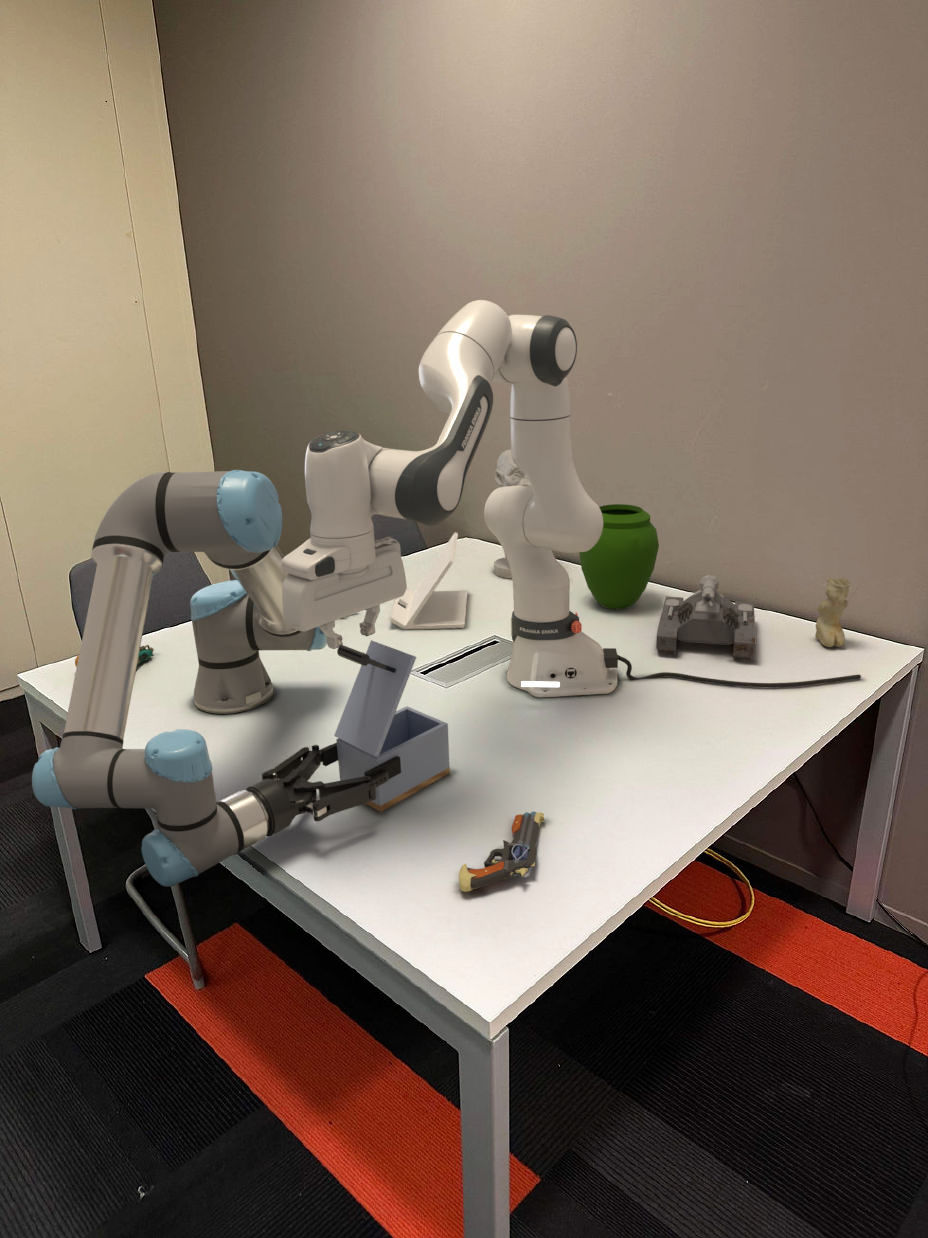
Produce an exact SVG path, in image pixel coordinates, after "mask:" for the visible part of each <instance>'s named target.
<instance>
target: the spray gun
mask: <svg viewBox="0 0 928 1238" xmlns="http://www.w3.org/2000/svg"><path fill="white" fill-rule="evenodd" d="M154 652H155V649H154V647H152V646H151V647H150V645H149V644H146V645H141V646H140V651H139V657H138V662H137V666H138V665H140V664H141V663H143V662H144V661H147V660H148V659H150V658H151V657H153V654H154ZM78 659H79V654H78V655H76V657H75V658H74V665H75V668H77V664H78Z"/></svg>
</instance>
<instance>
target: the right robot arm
mask: <svg viewBox="0 0 928 1238" xmlns="http://www.w3.org/2000/svg"><path fill="white" fill-rule="evenodd" d="M577 342H578V340H577V336H576V333H575V331H574V329H573V327H572V326H571V324H570V323H569V321H568V320H567V319H565V318H563V317H559V316H556V315H550V314H546V315H543V316H542V315H541V316H540V315H535V314H534V315H533V314H510V315H508V314H507V313H506V311H505V310H504V309H503V308H502V307H501V306H499V305H498V304H496V303H494V302H493V301H490V300H485V299H476V300H473V301H470V302H469V303H468V302H467V304H465V305H464V306H463V307H461V308H460V309H459V310H458V311H457V312H456V313H454V315H453V316H452V317H451V318H450V319H449V320H448V321H447V322H446V323H445V324H444V325H443V326H442V328H441V329H440V330H439V332H437V334H436V335H435V337H434V338H433V340H431V342H430V344H429V345H428V347H427V348H426V349H425V351H424V353H423V355H422V357H421V359H420V362H419V364H418V365H419V366H418V380H419V385H420V386H421V389H422V391H423V393H424V394H425V396H426V397H427V399H428V400H429V402H431V404H432V405H433V406H434V407H436V408H437V409H438V410H439V411H441V412H443V413H444V414H447V415H449V416H448V418H447V420H446V422H445V424H444V426H443V429H442V431H441V433H440V435H439V437H438V440H437V442H436V444H434V445H433V446H431V447H429V448H427V449H423V450H407V449H397V448H391V447H390V448H389V447H383V446H380V445H376V444H374V443H371V442H369V441H367V440H365V438H363V437H362V435H361V434H360V433H359V432H358V431H355V430H350V429H340V430H334V431H328V432H325V433H322V434H319V435H317V436H316V437H314V438H313V439H312V440H310V441H309V443H308V445H307V447H306V452H305V458H304V482H305V483H304V485H305V495H306V496H305V497H306V502H307V505H308V508H309V512H310V515H311V520H310V526H309V533H310V537H309V538H308V539H307V540H306V541H303V543H302V544H301V545H299V546H298V547H296V548H295V549H294V550H292V551H291V552H289V553H288V554H286V555H284V558H283V559H282V569H283V571H285V572H287V573H289V574H288V575H287V576H286V577H285V579H284V581H283V585H282V604H283V614H284V620H285V622H286V623H287V624H288V625H289V626H290V627H291V628H294V629H296V630H299V631H302V632H304V631H307V630H310V629H313V628H316V627H318V626H319V628H320V629H321V630H322V632H323V633H324V634H325V635H326V636H327V645H326V646H327V647H328V648H329V649H332V650H336V649H338V648H339V647H341V646H342V645H344V643H343V635H342V634H338V633H336V632H335V631H334V629H333V628H336V621H338V620H340V619H343V618H346V617H348V616H351V615H354V614H357V613H360V612H363V611H365V615H364V618H363V621H362V622H359V628H360V629H359V632H360V634H361V635H362V636H364V637H369V636H373V635H374V634H376V622H377V619H378V617H379V614H380V612H381V606H380V605H382V604H385V603H387V602H390V601H393V600H395V599H396V598H399V597H402V596H403V595H404V593H405V591H406V588H408V586H407V577H406V572H405V565H404V561H403V558H402V553H401V545H400V542H399V541H398V540H397V539H396V538H393V537H391V536H386V537H383V538H382V539H376V540H375V528H374V527H375V526H374V523H373V520H372V517H373V516H374V515H379V516H384V517H389V518H396V519H402V520H407V521H409V522H412V523H413V522H414V523H417V524H421V525H424V526H428V527H429V526H430V527H432V526H437V525H440V524H442V523H443V522H445V521H446V520H447V519H448V518H449V517H450V516H452V514H453V513H454V512H455V511H456V510H457V508H458V506H459V504H460V502H461V498H462V495H463V490H464V487H465V486H464V485H465V481H466V476H467V474H468V472H469V469H470V466H471V464H472V462H473V459H474V457H475V454H476V452H477V450H478V448H479V445H480V442H481V440H482V438H483V435H484V433H485V430H486V429H487V425H488V422H489V420H490V418H491V414H492V410H493V406H494V392H493V388H492V386H491V383H492V382H493V383H499V384H511V387H510V398H509V423H510V424H509V425H510V427H509V431H510V450H511V456H512V459H513V461H514V463H515V464H516V465H517V467H518V468H520V469H521V470H522V471H523V472H524V474H525V475H526V477H527V478H528V480H529V482H530V485H531V487H527V486H521V485H518V486H506V487H502V486H499V487H497V488H496V489H494V490H492V492H491V493H490V494H489V496H488V498H487V499H486V502H485V504H484V510H483V514H484V515H483V518H484V522H485V525H486V527H487V529H488V530H489V531H490V532H491V533H492V534H493V535H494V537H495V538H496V540H498V542H499V544H500V546H501V548H502V550H503V553H504V552H505V553H504V556H505V555H506V557H507V560H508V563H509V566H510V569H511V574H512V578H511V579H512V594H513V596H512V597H513V611H512V612H511V618H510V635H511V640H512V645H511V646H512V647H511V655H510V660H509V665H508V669H507V672H506V675H505V678H506V681H507V683H509V684H510V685H511V686H513V687H515V688H517V689H519V690H522V691H525V692H527V693H529V694H530V695H531V696H533V697H535V698H556V697H572V696H573V697H574V696H588V695H589V696H590V695H591V696H592V695H607V694H611V693H612V692H613V691H615V690H616V688H617V686H618V673H617V670H616V669H618V667H619V661H620V662H622V663H624V664H625V665H626V666H627V669H626V672H625V674H626V677H627V679H629V680H630V681H640V680H651V679H657V678H662V677H671V678H678V679H680V678H681V679H685V680H691V681H697V682H702V683H710V684H718V685H725V686H735V687H747V688H793V687H795V688H796V687H804V686H806V687H807V686H813V685H821V684H830V683H838V682H839V683H840V682H844V681H852V680H860V679H861V678H862V675H861V674H852V675H846V676H837V677H829V678H822V679H821V678H820V679H813V680H805V681H792V682H747V681H737V680H736V681H734V680H726V679H719V678H718V679H717V678H709V677H702V676H696V675H691V674H685V673H680V672H679V673H678V672H669V671H668V672H667V671H666V672H665V671H664V672H663V671H661V672H657V673H653V674H649V675H647V676H641V677H637V676H633V675H632V674H631V673H632V669H633V665H632V663H631V661H630V660H629V659H627V658H626V657H623V656H621V655H619V654H618V651H617V648H610V647H609V648H607V647H605V648H604V647H602V645H601V644H600V643H599V642H598V641H596V640H595V639H593V638H591V637H590V636H589V635H587V634H586V633H585V632H583V631H582V630H583V626H582V625H583V624H582V622H581V621H580V616H579V615H578V612H577V611H575V613H574V612H573V611H571V610H570V590H571V589H570V586H571V585H570V584H571V579H570V576H569V572H568V571H567V570H566V568H565V567H563V565H562V564H561V563H560V562H559V561H558V560H557V558H556V556H555V555H554V553H553V551H554V552H555V551H556V552H560V553H579V552H586V551H588V550H590V549H591V548H592V547H593V546H594V545H595V544H596V543H597V542H598V540H599V538H600V536H601V534H602V530H603V516H602V512H601V510H600V508H599V507H600V506H599V505H598V504H597V503H596V502H595V501H594V500H593V499H592V498H591V496H590V495H589V494H588V492H587V491H586V490H585V488H584V486H583V485H582V482H581V480H580V478H579V475H578V473H577V469H576V467H575V463H574V459H573V450H572V430H571V429H572V428H571V425H572V423H571V422H572V421H571V417H572V416H571V394H570V385H569V379H568V375H569V374H570V372H571V371H572V369H573V367H574V365H575V362H576V359H577V353H578V343H577Z"/></svg>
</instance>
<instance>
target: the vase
mask: <svg viewBox="0 0 928 1238" xmlns="http://www.w3.org/2000/svg"><path fill="white" fill-rule="evenodd" d="M599 508H600V510H601V512H602V516H603V530H602V534H601V536H600V538H599V540H598V542H597V543H596V544H595V545H594V546H593V547H592V548H591V549H590V550H588V551H586V552H578V554H579V562H580V569H581V571H582V574H583V577H584V580H585V583H586V585H587V588H588V590H589V591H590V594H592V597H593V598H594V600H595V601H596V602H597V603H598V604H599V605H600V606H602V607H604V608H606V609H609V610H625V609H628V608H630V607H632V606H634V604H636V602H638V601H639V599H640V597H641V596H642V595H643V593H644V592H645V590H646V588H647V586H648V584H649V581H650V579H651V577H652V574H653V572H654V570H655V566H656V562H657V557H658V552H659V548H660V544H659V543H660V542H659V537H658V531H657V528H656V527H655V526H654V524H653V523H652V522H651V515H650V514H649V512H647V511H645V510H644V509H643V508H642V507H641V506H638V505H633V504H622V503H621V504H619V503H616V504H615V503H614V504H604V505H601V506H599Z"/></svg>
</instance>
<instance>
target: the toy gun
mask: <svg viewBox="0 0 928 1238" xmlns="http://www.w3.org/2000/svg"><path fill="white" fill-rule="evenodd" d="M545 821H546V820H545V813H544V812H542V811H539V812H538V811H531V812H529V811H526V812H524V813H522V814H521V813H520V814H519V813H518V814H516V815H515V816H514V819H513V822H512V825H511V832H512V835H513V839H512V841H511V842H509V841H508V840H505V839H503V840H502V843H503V848H495V849H492V850H491V851H490V852H489V855H488V857H487V858H486V860H484V861H483V865H484V867H482V868H470V867H468V865H467V863H464V864H462V866H461V867H460V868H459V869H460V870H459V873H458V884H459V889H460V891H461V892H471V891H473V890H475V889H479V888H480V889H481V888H485V887H487V886H490V885H493V884H495V883H497V882H500V881H506V880H507V879H510V878H512V877H514V876H516V875H518V874H520V877H521V878H523V877H525V875H526V873H527V872H529V869H530V868H532V867H535V866H536V859H537V845H536V844H537V839H538V834H539V829H540V827H541V823H543V822H545ZM496 857H501V858H500V860H495V858H496ZM511 857H512V859H511Z"/></svg>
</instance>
